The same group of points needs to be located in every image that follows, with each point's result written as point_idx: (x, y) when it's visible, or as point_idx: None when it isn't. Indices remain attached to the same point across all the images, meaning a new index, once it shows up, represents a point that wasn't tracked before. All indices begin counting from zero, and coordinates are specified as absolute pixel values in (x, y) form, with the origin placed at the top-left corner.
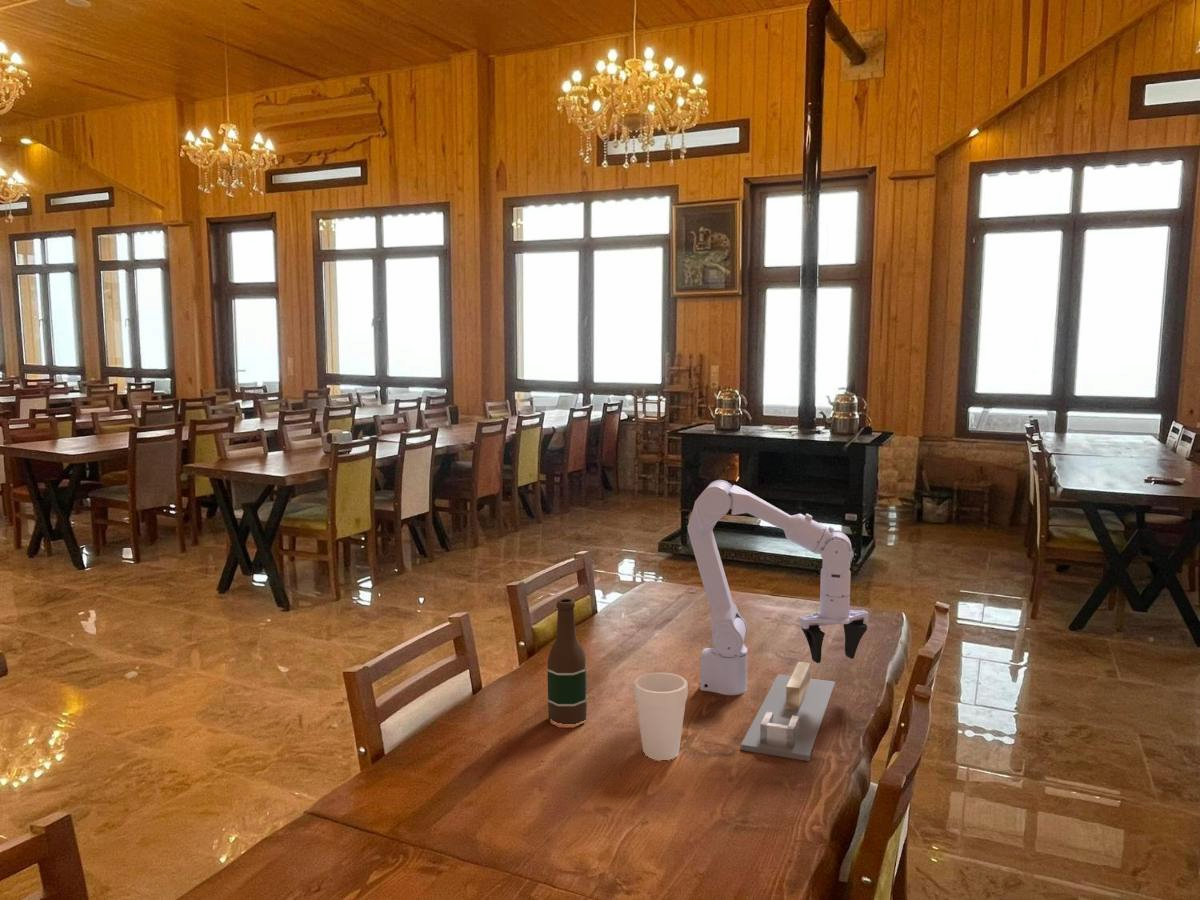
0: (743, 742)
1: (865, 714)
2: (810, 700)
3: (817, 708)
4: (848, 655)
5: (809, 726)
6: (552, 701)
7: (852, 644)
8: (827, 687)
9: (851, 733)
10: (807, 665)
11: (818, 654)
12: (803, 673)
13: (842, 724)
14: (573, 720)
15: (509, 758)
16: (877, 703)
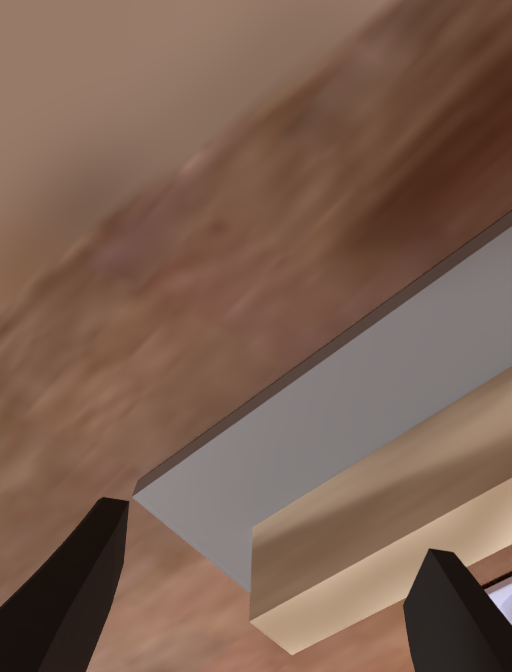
0: None
1: (224, 182)
2: (393, 406)
3: (442, 322)
4: (122, 543)
5: None
6: None
7: (70, 625)
8: (210, 470)
9: (491, 14)
10: (288, 609)
11: (502, 620)
12: (396, 552)
13: (433, 145)
14: None
15: None
16: (71, 256)
